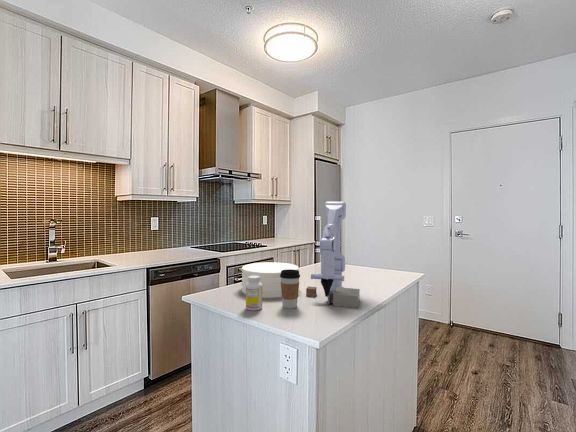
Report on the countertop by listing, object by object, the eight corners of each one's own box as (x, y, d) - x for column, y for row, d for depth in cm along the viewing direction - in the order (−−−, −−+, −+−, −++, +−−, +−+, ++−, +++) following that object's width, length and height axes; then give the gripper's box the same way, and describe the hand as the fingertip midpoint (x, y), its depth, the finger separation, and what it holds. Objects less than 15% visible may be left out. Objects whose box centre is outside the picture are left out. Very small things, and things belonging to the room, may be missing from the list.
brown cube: (308, 293, 148) (308, 286, 148) (316, 294, 147) (316, 287, 147) (306, 295, 144) (306, 288, 144) (314, 296, 143) (314, 289, 143)
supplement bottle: (254, 304, 130) (254, 274, 130) (265, 308, 126) (265, 276, 126) (242, 308, 125) (242, 276, 125) (253, 312, 121) (254, 279, 121)
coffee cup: (282, 310, 124) (282, 272, 123) (277, 303, 132) (277, 268, 131) (302, 308, 126) (302, 271, 125) (296, 302, 134) (296, 267, 134)
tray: (330, 297, 142) (330, 288, 142) (353, 299, 139) (353, 290, 139) (326, 304, 131) (326, 295, 131) (351, 306, 128) (351, 297, 128)
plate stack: (274, 301, 135) (274, 275, 135) (229, 291, 152) (229, 267, 152) (309, 288, 158) (309, 266, 158) (267, 280, 175) (267, 260, 174)
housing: (336, 297, 142) (337, 287, 142) (359, 299, 139) (359, 289, 139) (333, 305, 130) (333, 294, 130) (357, 307, 127) (357, 296, 127)
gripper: (309, 265, 135) (308, 297, 135) (343, 268, 131) (342, 300, 131) (312, 263, 142) (312, 292, 142) (344, 265, 137) (344, 295, 138)
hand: (327, 296), depth 137 cm, fingers closed
